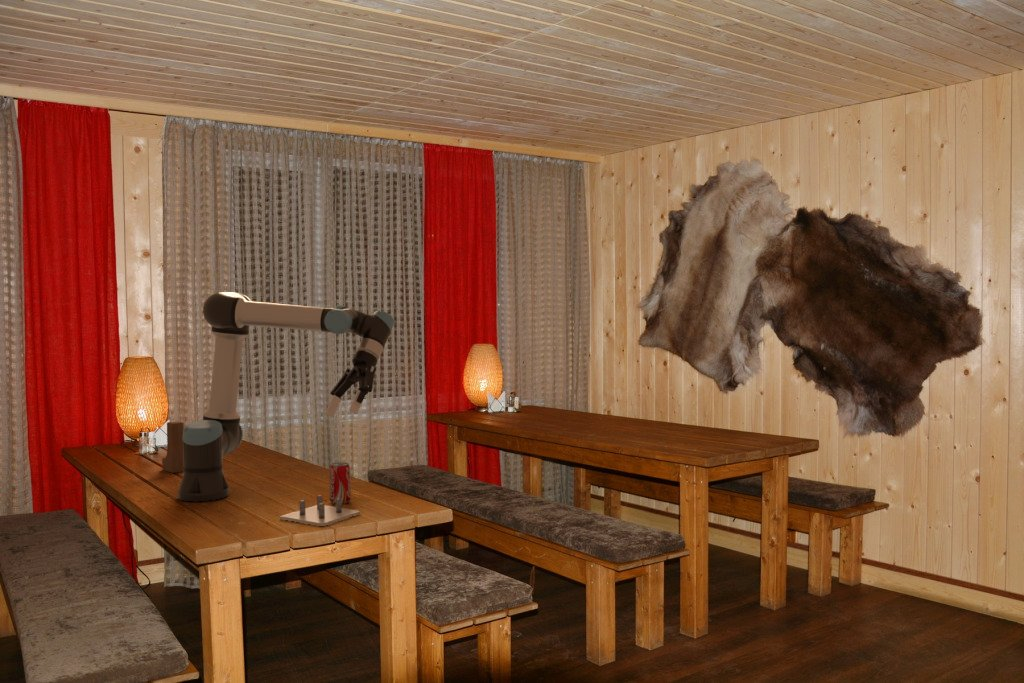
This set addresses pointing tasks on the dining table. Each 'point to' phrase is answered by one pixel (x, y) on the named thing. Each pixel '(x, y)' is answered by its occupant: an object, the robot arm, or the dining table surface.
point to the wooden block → (174, 448)
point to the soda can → (340, 482)
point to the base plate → (313, 516)
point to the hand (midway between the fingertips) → (340, 413)
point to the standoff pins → (321, 506)
